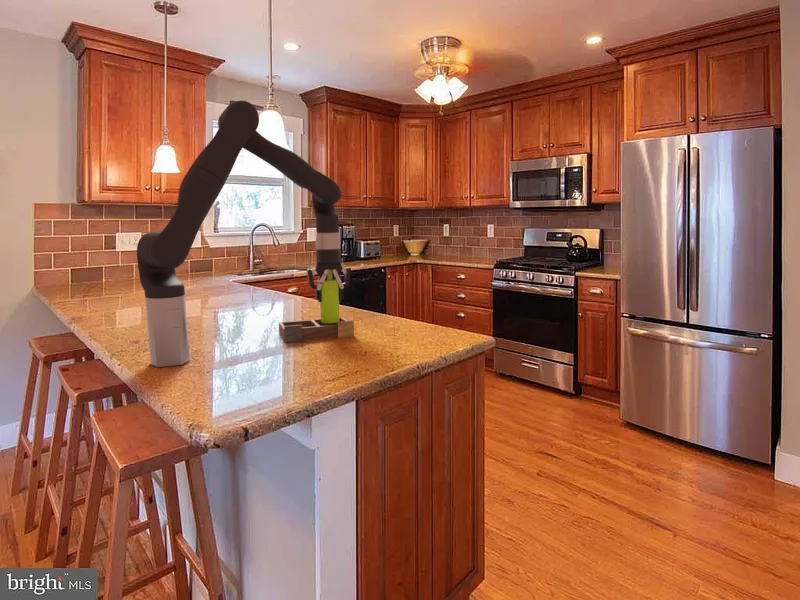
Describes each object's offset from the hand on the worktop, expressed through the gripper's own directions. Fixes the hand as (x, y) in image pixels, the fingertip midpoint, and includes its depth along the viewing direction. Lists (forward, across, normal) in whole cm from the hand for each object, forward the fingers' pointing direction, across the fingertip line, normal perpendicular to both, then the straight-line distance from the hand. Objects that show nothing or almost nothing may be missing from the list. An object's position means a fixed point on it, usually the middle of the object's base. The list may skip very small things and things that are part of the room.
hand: (329, 300), depth 163 cm
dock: (+10, -5, 0) cm, 12 cm away
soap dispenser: (+7, 0, 0) cm, 7 cm away
